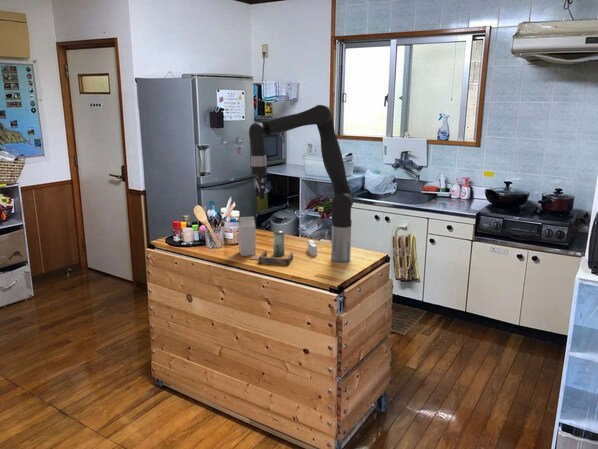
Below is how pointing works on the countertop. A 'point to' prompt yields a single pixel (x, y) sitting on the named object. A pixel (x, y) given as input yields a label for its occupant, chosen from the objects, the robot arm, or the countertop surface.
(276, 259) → the dock
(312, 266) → the countertop surface
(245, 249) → the milk carton
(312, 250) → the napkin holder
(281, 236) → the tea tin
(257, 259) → the terracotta tag
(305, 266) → the countertop surface
